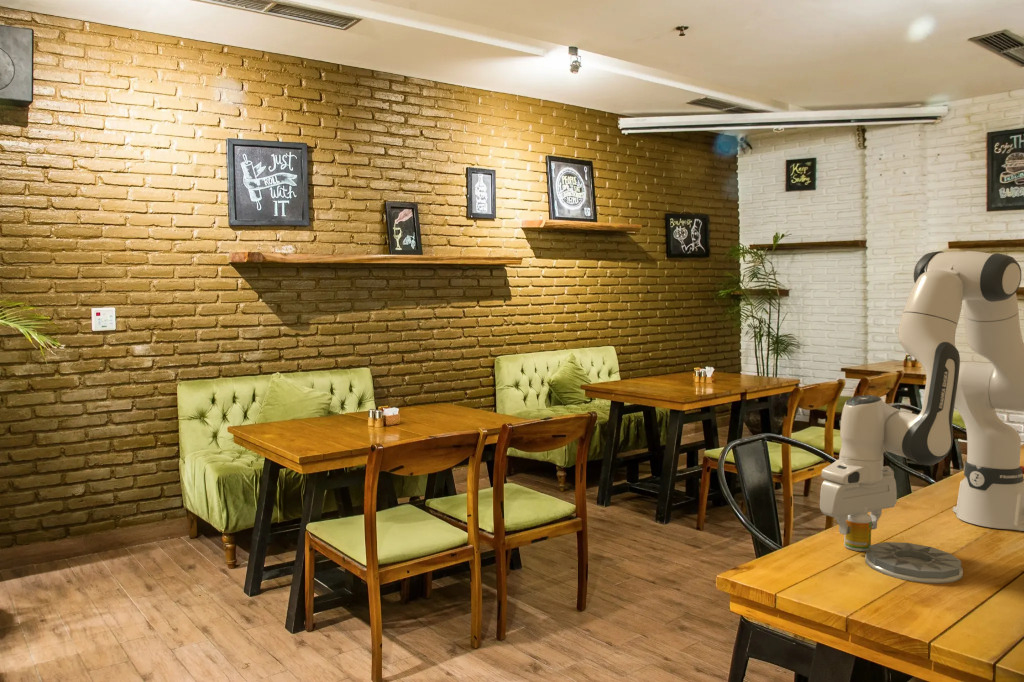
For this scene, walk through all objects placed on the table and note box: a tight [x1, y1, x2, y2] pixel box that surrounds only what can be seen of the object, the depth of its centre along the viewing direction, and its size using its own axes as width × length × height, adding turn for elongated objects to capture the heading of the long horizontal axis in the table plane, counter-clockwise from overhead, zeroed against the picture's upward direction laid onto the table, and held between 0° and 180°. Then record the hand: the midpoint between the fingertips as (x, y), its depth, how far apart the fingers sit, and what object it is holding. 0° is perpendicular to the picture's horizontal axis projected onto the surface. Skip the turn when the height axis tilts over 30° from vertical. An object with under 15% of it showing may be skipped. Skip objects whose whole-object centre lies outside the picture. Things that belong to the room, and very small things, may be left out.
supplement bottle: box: [843, 507, 872, 552], centre depth 172 cm, size 5×5×10 cm
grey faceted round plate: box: [864, 541, 964, 584], centre depth 161 cm, size 18×18×2 cm
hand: (858, 531), depth 172 cm, fingers open, 7 cm apart
